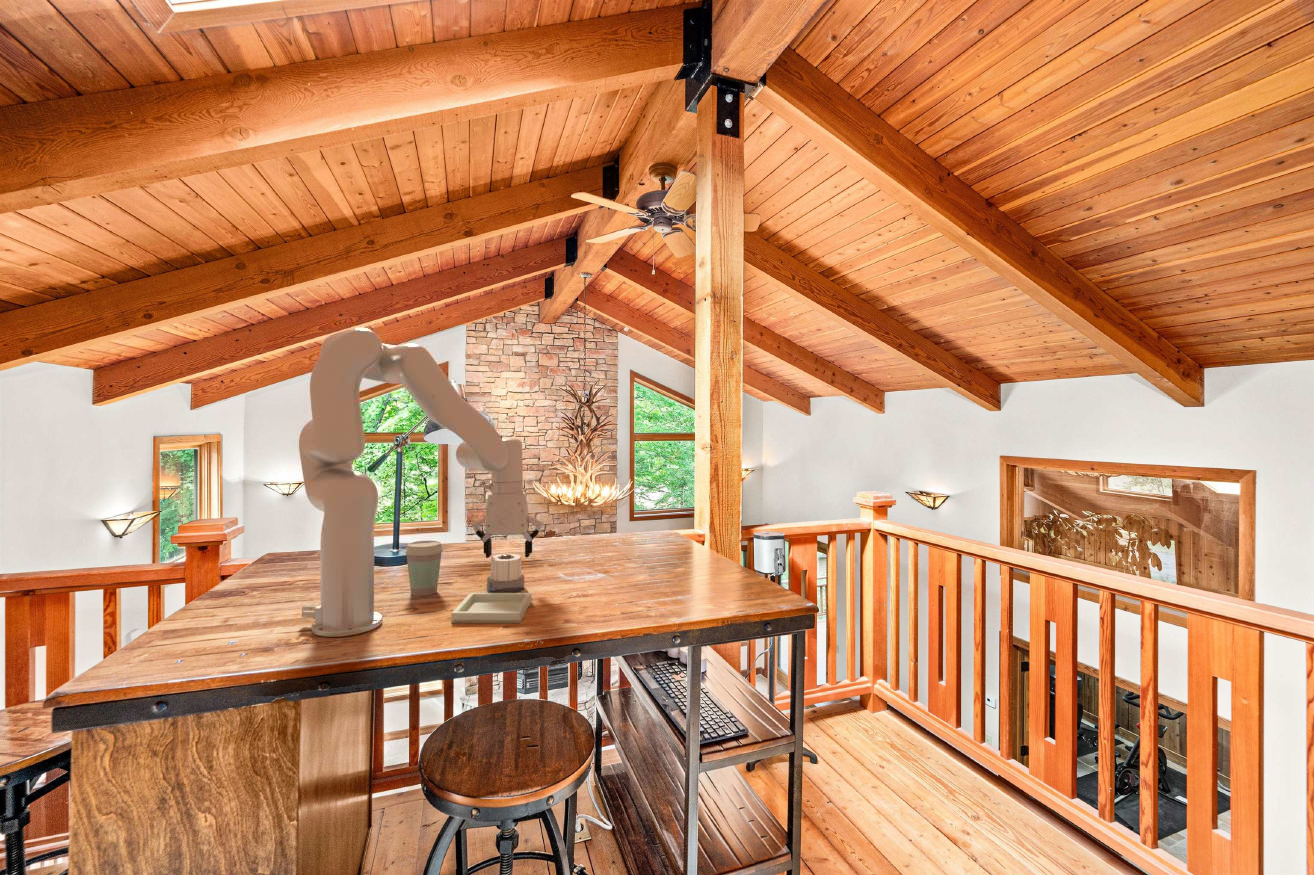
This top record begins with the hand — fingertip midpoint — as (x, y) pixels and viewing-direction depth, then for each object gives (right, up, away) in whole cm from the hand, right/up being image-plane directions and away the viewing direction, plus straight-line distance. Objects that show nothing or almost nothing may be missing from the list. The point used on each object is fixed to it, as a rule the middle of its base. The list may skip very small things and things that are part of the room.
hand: (508, 556), depth 144 cm
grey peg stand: (-1, -8, 0) cm, 8 cm away
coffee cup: (-19, -8, -4) cm, 21 cm away
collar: (-1, -5, 0) cm, 5 cm away
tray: (+1, -9, -17) cm, 19 cm away
